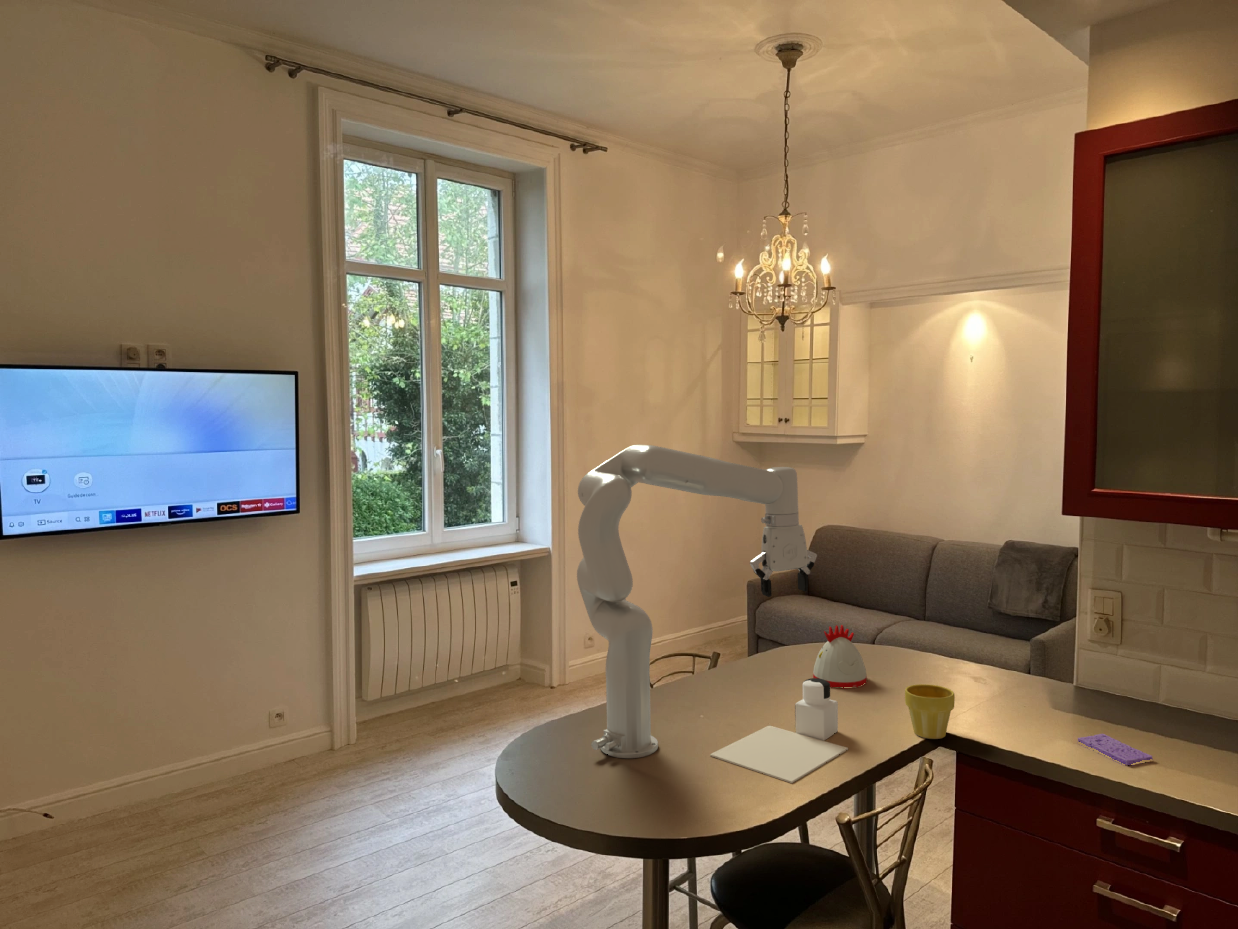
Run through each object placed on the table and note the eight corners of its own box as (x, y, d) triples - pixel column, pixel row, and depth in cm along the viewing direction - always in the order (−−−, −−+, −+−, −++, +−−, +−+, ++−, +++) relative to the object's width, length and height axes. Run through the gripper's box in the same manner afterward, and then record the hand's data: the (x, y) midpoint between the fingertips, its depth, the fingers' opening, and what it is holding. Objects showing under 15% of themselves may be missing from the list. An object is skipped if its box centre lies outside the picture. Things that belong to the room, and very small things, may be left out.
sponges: (1102, 741, 184) (1102, 733, 184) (1153, 764, 172) (1154, 755, 172) (1076, 746, 182) (1076, 737, 182) (1126, 769, 170) (1126, 760, 170)
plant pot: (910, 722, 196) (910, 680, 195) (957, 730, 191) (958, 687, 190) (900, 737, 187) (900, 694, 186) (949, 746, 182) (949, 701, 181)
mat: (791, 783, 165) (791, 781, 165) (710, 756, 179) (710, 754, 179) (848, 749, 181) (848, 748, 181) (769, 727, 195) (769, 725, 194)
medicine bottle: (809, 725, 195) (809, 673, 195) (838, 731, 191) (838, 679, 190) (794, 734, 190) (794, 681, 189) (824, 741, 185) (823, 687, 185)
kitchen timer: (805, 674, 233) (804, 620, 232) (851, 670, 236) (851, 617, 235) (826, 690, 219) (826, 633, 218) (875, 686, 222) (875, 630, 221)
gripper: (757, 526, 190) (760, 601, 191) (823, 518, 196) (825, 591, 197) (741, 522, 197) (744, 594, 198) (805, 515, 203) (808, 585, 204)
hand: (785, 593), depth 198 cm, fingers open, 9 cm apart
